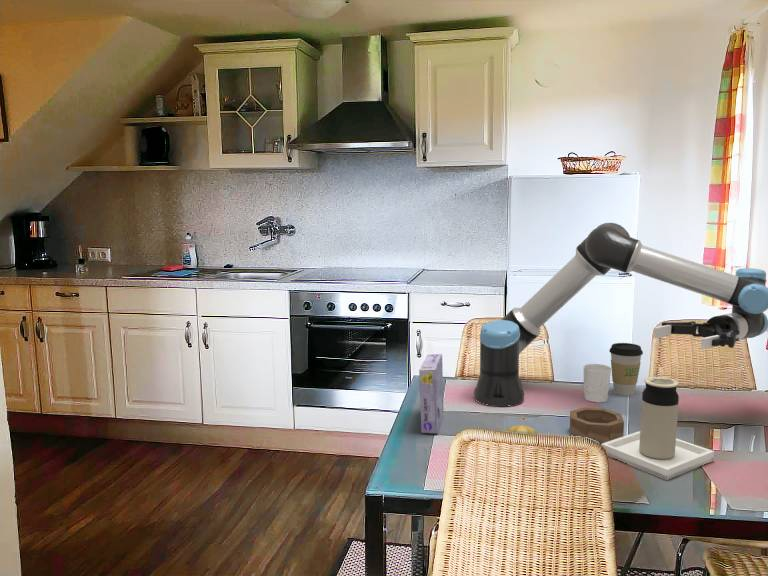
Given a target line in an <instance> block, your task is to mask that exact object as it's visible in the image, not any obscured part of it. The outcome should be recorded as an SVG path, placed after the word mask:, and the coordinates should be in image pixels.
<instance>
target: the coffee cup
mask: <svg viewBox="0 0 768 576" xmlns="http://www.w3.org/2000/svg"><path fill="white" fill-rule="evenodd" d="M609 353H610V358H611V359H610V368H611V381H612V384H613V385H612V386H613V393H614V394H615V395H618V396H622V397H630V396H634V395H635V393H636V388H637V383H638V380H639V375H640V367H641V359H642V355H643V354H644V352H643V350H642V347H641V346H640V345H639V344H635V343H631V342H616V343H613V344H611V346H610V348H609Z"/></svg>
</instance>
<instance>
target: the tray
mask: <svg viewBox="0 0 768 576" xmlns="http://www.w3.org/2000/svg"><path fill="white" fill-rule="evenodd" d="M639 444H640V430H638V431H636V432H632V433H630V434H627V435H623V437H620V438H617V439H614V440H611V441H608V442H605V443H602V444H600V446H601V445H602V446H603V447H604V448H605V449H606V450H607V453H608V456H609V457H608V456H607V457H608V458H611V457H613V458H615V459H618V460H620V461H622V462H621V463H623V462H624V463H623V464H625V463H627V464H626V465H628V466H631V467H632V468H636V469H638V470H641V471H643V472H645V473H648V474H650V475H652V476H655V477H657V478H660V479H663V480H665V481H669V480H671V479H674V478H676V477H679V476H682V475H683V474H687V473H688V472H691V471H694V470H696V469H698V468H700V466H701V467H703V466H705V465H704V464H706V463H707V462H710V461H712V460H713V461H714V458H715V457H714V456H715V450H711V449H709V448H705V447H703V446H700V445H697V444H693V443H691V442H688V441H684V440H682V439H680V438H677V437H676V446H675V456H674V457H672V458H669V459H655V458H651V457H648V456H645V455H644V454H642V453H641V452H640V451H639ZM613 458H612V459H613ZM615 459H614V460H615ZM618 460H617V461H618ZM620 461H619V462H620ZM702 465H703V466H702ZM706 465H707V464H706Z"/></svg>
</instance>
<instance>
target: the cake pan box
mask: <svg viewBox="0 0 768 576" xmlns="http://www.w3.org/2000/svg"><path fill="white" fill-rule="evenodd" d="M443 371H444V370H443V355H442V353H433V354H427V355H426V357H425V359H424V361H423V362H422V364H421V366H420V368H419V371H418V373H419V374H418V376H419V378H418V379H419V380H418V381H419V382H418V383H419V403H420V426H421V429H420V430H421V433H422V434H431V435H438V432H439V429H440V427H441V424H442V420H443V415H444V411H445V410H444V380H443V377H444V376H443V375H444V374H443Z"/></svg>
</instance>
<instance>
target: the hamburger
mask: <svg viewBox="0 0 768 576" xmlns="http://www.w3.org/2000/svg"><path fill="white" fill-rule="evenodd" d="M520 419H521V420H520V421H521V424H520V425H519V424H517V425H514V426H511V427H509V428H507V429H506V431H509V432H517V433H527V434H538V432H537V431H536V430H535V429H534V428H532V427H530V426H527V425H522V423H523V422H524V421H527V420H528V418H526V417H525V416H522V415H521V417H520Z"/></svg>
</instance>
